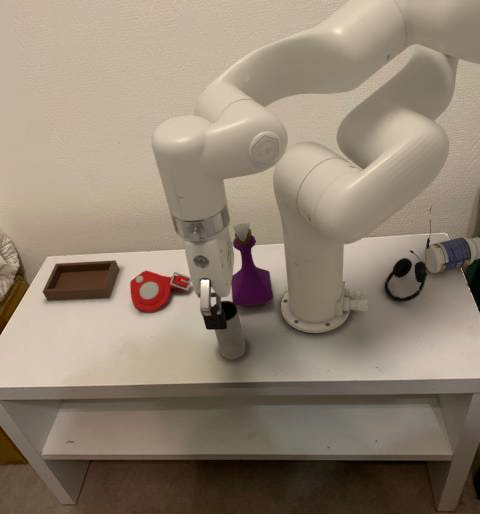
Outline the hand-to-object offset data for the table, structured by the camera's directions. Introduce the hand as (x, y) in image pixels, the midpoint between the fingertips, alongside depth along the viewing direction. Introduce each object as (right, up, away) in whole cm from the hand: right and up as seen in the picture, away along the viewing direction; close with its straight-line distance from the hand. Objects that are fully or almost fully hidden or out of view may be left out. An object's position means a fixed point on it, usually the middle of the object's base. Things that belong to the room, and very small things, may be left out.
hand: (220, 304), depth 76 cm
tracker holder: (-13, +2, +21) cm, 24 cm away
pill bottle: (+38, +9, +13) cm, 41 cm away
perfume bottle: (+6, +1, +17) cm, 18 cm away
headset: (+40, +19, +12) cm, 46 cm away
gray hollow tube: (+2, -8, +9) cm, 12 cm away
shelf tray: (-30, +5, +26) cm, 40 cm away
